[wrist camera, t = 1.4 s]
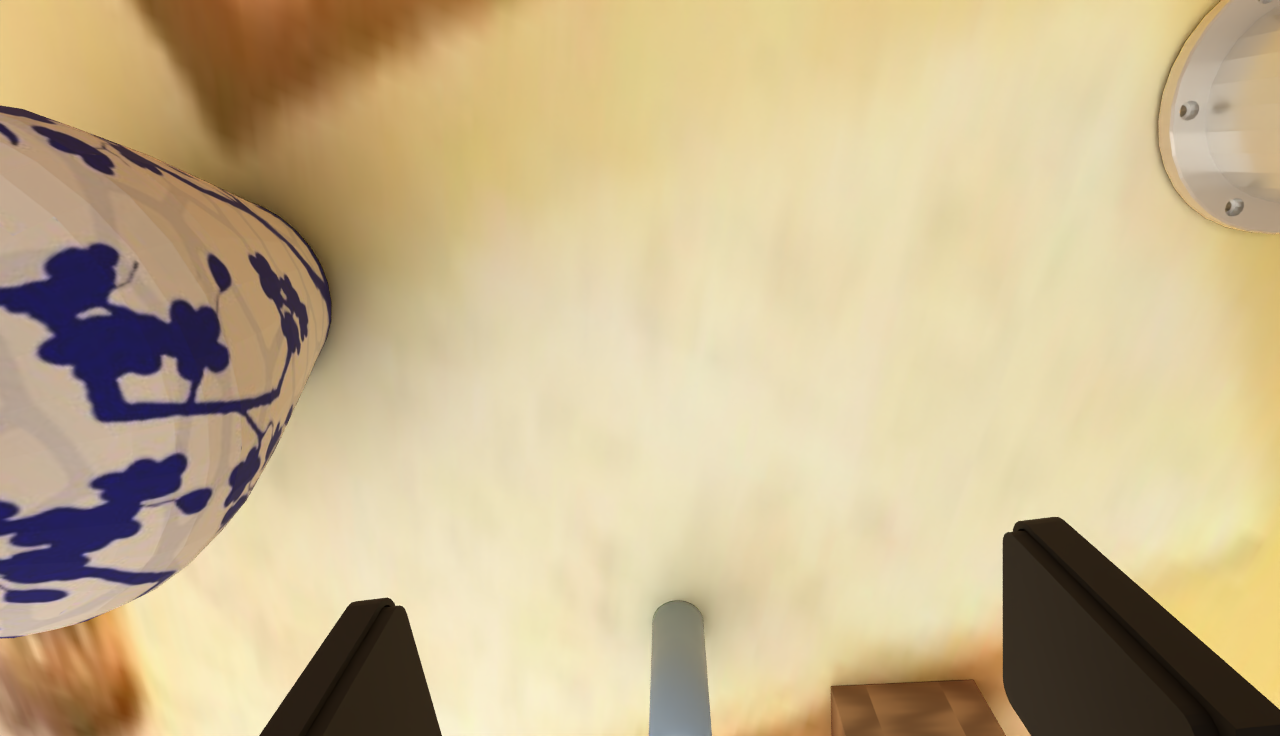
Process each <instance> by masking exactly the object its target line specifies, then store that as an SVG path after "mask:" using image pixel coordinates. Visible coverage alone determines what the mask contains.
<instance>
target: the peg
mask: <svg viewBox="0 0 1280 736" xmlns="http://www.w3.org/2000/svg"><path fill="white" fill-rule="evenodd" d="M649 736H712V732H711V719H710V705H709V692H708V679H707V665H706V652H705V639H704V625H703V617H702V615H701V613H700V611H699V610H698V609H697V608H696V607H695V606H694V605H692V604H690V603H688V602H684V601H671V602H668V603H665V604H663V605H662V606H660V607H659V608H658V609H657V611H656V612H655V614H654V617H653V628H652V658H651V687H650V717H649Z"/></svg>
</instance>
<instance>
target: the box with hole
mask: <svg viewBox="0 0 1280 736" xmlns="http://www.w3.org/2000/svg"><path fill="white" fill-rule="evenodd" d="M831 729H832V736H1006V735H1005V733H1004V732H1003V730H1002V728H1001V727H1000V725H999V723H998V721H997V720H996V718H995V716H994V714H993V713H992V711H991V709H990V708H989V706H988V704H987V702H986V701H985V699H984V697H983V696H982V694H981V692H980V690H979V689H978V687H977V685H976V683H975V682H974V680H957V681H935V682H914V683H893V684H871V685H850V686H831Z"/></svg>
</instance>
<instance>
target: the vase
mask: <svg viewBox="0 0 1280 736" xmlns="http://www.w3.org/2000/svg"><path fill="white" fill-rule="evenodd" d="M330 323H331V298H330V293H329V287H328V282H327V280H326V277H325V275H324V272H323V269H322V267H321V264H320V263H319V261H318V259H317V258H316V256H315V254H314V253H313V251H312V249H311V247H310V246H309V245H308V244H307V243H306V241H305V240H304V239H303V238H302V237H301V236H300V234H299V233H298V232H297V231H296V230H295V229H294V228H292V227H291V226H290V225H289V224H288V223H286V222H285V221H284V220H283V219H282V218H280V217H279V216H277V215H275V214H274V213H272V212H270V211H268V210H267V209H265V208H263V207H261V206H259V205H256V204H253V203H251V202H248V201H246V200H244V199H242V198H240V197H238V196H235V195H233V194H231V193H229V192H227V191H225V190H223V189H221V188H218V187H216V186H214V185H212V184H210V183H208V182H206V181H204V180H201V179H199V178H197V177H195V176H193V175H190V174H188V173H186V172H184V171H182V170H179V169H177V168H175V167H173V166H171V165H168V164H166V163H164V162H162V161H160V160H157V159H155V158H153V157H151V156H148V155H146V154H143V153H141V152H138V151H135V150H133V149H130V148H127V147H125V146H122V145H119V144H117V143H114V142H111V141H109V140H106V139H103V138H101V137H98V136H95V135H93V134H90V133H87V132H85V131H82V130H79V129H77V128H74V127H71V126H68V125H65V124H63V123H60V122H57V121H54V120H51V119H49V118H46V117H43V116H40V115H38V114H35V113H32V112H29V111H26V110H24V109H19V108H12V107H6V106H0V638H16V637H20V636H25V635H30V634H35V633H40V632H45V631H50V630H54V629H59V628H62V627H66V626H70V625H74V624H77V623H81V622H85V621H87V620H90V619H92V618H94V617H97V616H99V615H101V614H104V613H106V612H108V611H110V610H113V609H115V608H117V607H120V606H122V605H124V604H126V603H128V602H130V601H132V600H134V599H136V598H138V597H140V596H142V595H144V594H146V593H149V592H151V591H153V590H155V589H156V588H158V587H159V586H160V585H162V584H163V583H164V582H166V581H167V580H168V579H170V578H171V577H172V576H174V575H175V574H176V573H178V572H179V571H180V570H182V569H183V568H184V567H186V566H187V565H188V564H189V563H190V562H191V561H192V560H193V559H194V558H195V557H196V556H197V555H198V554H199V553H200V552H201V551H202V550H203V549H204V548H205V547H206V546H207V545H208V544H209V543H210V542H211V541H212V540H213V539H214V538H215V537H216V536H217V535H218V534H219V533H220V532H221V531H222V530H223V528H224V527H225V526H226V525H227V523H228V522H229V521H230V520H231V519H232V517H233V516H234V515H235V514H236V512H237V511H238V510H239V509H240V508H241V506H242V505H243V504H244V503H245V501H246V500H247V498H248V496H249V495H250V493H251V491H252V489H253V488H254V486H255V484H256V482H257V480H258V479H259V477H260V475H261V473H262V472H263V470H264V468H265V466H266V464H267V463H268V461H269V459H270V457H271V456H272V454H273V452H274V450H275V448H276V446H277V444H278V442H279V440H280V438H281V436H282V434H283V432H284V429H285V427H286V425H287V423H288V421H289V419H290V417H291V415H292V412H293V410H294V408H295V406H296V404H297V401H298V399H299V397H300V395H301V393H302V391H303V388H304V386H305V384H306V382H307V380H308V377H309V375H310V373H311V371H312V368H313V366H314V364H315V361H316V359H317V357H318V356H319V354H320V352H321V350H322V348H323V345H324V343H325V341H326V339H327V336H328V331H329V327H330Z"/></svg>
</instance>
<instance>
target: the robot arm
mask: <svg viewBox="0 0 1280 736" xmlns="http://www.w3.org/2000/svg"><path fill="white" fill-rule="evenodd" d="M1158 123H1159V147H1160V151H1161V155H1162V160H1163V164H1164V168H1165V170H1166V172H1167V174H1168V176H1169V178H1170V180H1171V182H1172V184H1173V187H1174V188H1175V190H1176V191H1177V192H1178V193H1179V194H1180V196H1181V197H1182V198H1183V199H1184V201H1185V202H1186V203H1187V204H1188V205H1189V206H1190V207H1191V208H1193V209H1194V210H1195V211H1197V212H1198V213H1199V214H1201V215H1202V216H1203V217H1205V218H1206V219H1209V220H1211V221H1213V222H1215V223H1218V224H1220V225H1222V226H1224V227H1228V228H1232V229H1237V230H1242V231H1247V232H1256V233H1267V234H1280V0H1221V1H1220V2H1219V3H1218V4H1217V5H1216V6H1215V7H1214V8H1213V9H1212V10H1211V11H1210V12H1209V13H1208V14H1207V15H1206V16H1205V17H1204V18H1203V19H1202V21H1201V22H1200V23H1199V25H1198V26H1197V27H1196V28H1195V30H1194V31H1193V32H1192V34H1191V35H1190V36H1189V38H1188V39H1187V40H1186V42H1185V44H1184V46H1183V47H1182V49H1181V51H1180V53H1179V55H1178V57H1177V59H1176V60H1175V62H1174V64H1173V66H1172V68H1171V71H1170V74H1169V77H1168V80H1167V83H1166V86H1165V88H1164V91H1163V95H1162V101H1161V107H1160V113H1159V119H1158ZM1003 683H1004V688H1005V691H1006V694H1007V697H1008V699H1009V702H1010V704H1011V705H1012V707H1013V709H1014V710H1015V712H1016V713H1017V715H1018V716H1019V718H1020V719H1021V721H1022V722H1023V724H1024V725H1025V727H1026V728H1027V730H1028V732H1029V733H1030V735H1031V736H1280V709H1278V708H1277V707H1276V706H1275V705H1274V704H1273V703H1272V702H1270V701H1269V700H1268V699H1267V698H1266V697H1265V696H1264V695H1262V694H1261V693H1260V692H1259V691H1258V690H1257V689H1256V688H1254V687H1253V686H1252V685H1251V684H1250V683H1249V682H1248V681H1246V680H1245V679H1244V678H1243V677H1242V676H1241V675H1240V674H1238V673H1237V672H1236V671H1235V670H1234V669H1233V668H1232V667H1230V666H1229V665H1228V664H1227V663H1226V662H1225V661H1224V660H1223V659H1221V658H1220V657H1219V656H1218V655H1217V654H1216V653H1215V652H1213V651H1212V650H1211V649H1210V648H1209V647H1208V646H1207V645H1205V644H1204V643H1203V642H1202V641H1201V640H1200V639H1199V638H1197V637H1196V636H1195V635H1194V634H1193V633H1192V632H1191V631H1189V630H1188V629H1187V628H1186V627H1185V626H1184V625H1183V624H1181V623H1180V622H1179V621H1178V620H1177V619H1176V618H1175V617H1174V616H1172V615H1171V614H1170V613H1169V612H1168V611H1167V610H1166V609H1164V608H1163V607H1162V606H1161V605H1160V604H1159V603H1158V602H1156V601H1155V600H1154V599H1153V598H1152V597H1151V596H1150V595H1148V594H1147V593H1146V592H1145V591H1144V590H1143V589H1142V588H1140V587H1139V586H1138V585H1137V584H1136V583H1135V582H1134V581H1132V580H1131V579H1130V578H1129V577H1128V576H1127V575H1126V574H1124V573H1123V572H1122V571H1121V570H1120V569H1119V568H1118V567H1117V566H1115V565H1114V564H1113V563H1112V562H1111V561H1110V560H1109V559H1107V558H1106V557H1105V556H1104V555H1103V554H1102V553H1101V552H1099V551H1098V550H1097V549H1096V548H1095V547H1094V546H1093V545H1091V544H1090V543H1089V542H1088V541H1087V540H1086V539H1085V538H1083V537H1082V536H1081V535H1080V534H1079V533H1078V532H1077V531H1075V530H1074V529H1073V528H1072V527H1071V526H1070V525H1069V524H1068V523H1066V522H1065V521H1064V520H1063V519H1061V518H1059V517H1050V518H1041V519H1033V520H1025V521H1018V522H1017V523H1016V524H1015V526H1014V528H1013V532H1008V533H1006V534H1005V535H1004V537H1003ZM259 736H442V735H441V731H440V728H439V724H438V721H437V717H436V714H435V710H434V707H433V703H432V700H431V696H430V693H429V689H428V686H427V682H426V679H425V675H424V672H423V669H422V665H421V662H420V658H419V655H418V651H417V648H416V644H415V641H414V637H413V634H412V630H411V627H410V623H409V620H408V616H407V613H406V611H405V609H404V608H403V606H395V604H394V602H393V601H392V600H391V599H390V598H380V599H372V600H364V601H356V602H352V603H351V604H350V605H349V606H348V607H347V608H346V610H345V611H344V613H343V614H342V616H341V617H340V618H339V620H338V621H337V623H336V624H335V626H334V627H333V629H332V630H331V632H330V633H329V635H328V636H327V637H326V639H325V640H324V642H323V643H322V645H321V646H320V648H319V649H318V651H317V652H316V654H315V655H314V656H313V658H312V659H311V661H310V662H309V664H308V665H307V667H306V668H305V670H304V671H303V673H302V674H301V675H300V677H299V678H298V680H297V681H296V683H295V684H294V686H293V687H292V689H291V690H290V692H289V693H288V694H287V696H286V697H285V699H284V700H283V702H282V703H281V705H280V706H279V708H278V709H277V711H276V712H275V713H274V715H273V716H272V718H271V719H270V721H269V722H268V724H267V725H266V727H265V728H264V730H263V731H262V732H261V734H260V735H259Z"/></svg>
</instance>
